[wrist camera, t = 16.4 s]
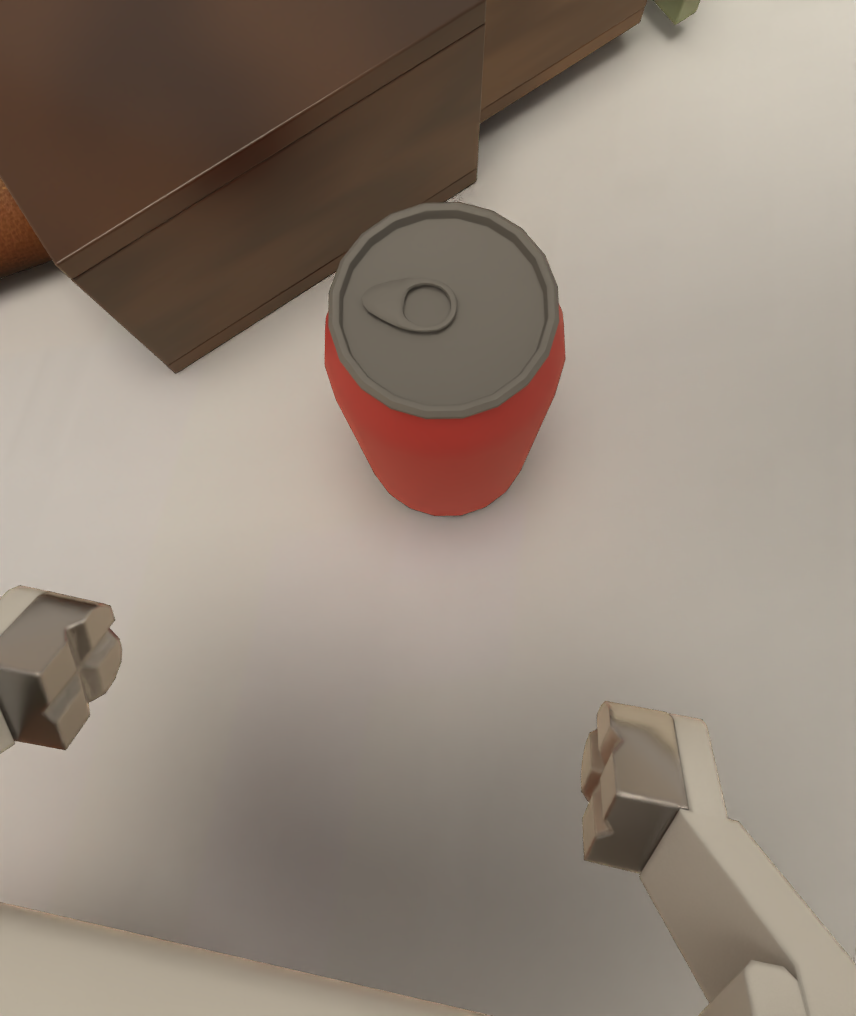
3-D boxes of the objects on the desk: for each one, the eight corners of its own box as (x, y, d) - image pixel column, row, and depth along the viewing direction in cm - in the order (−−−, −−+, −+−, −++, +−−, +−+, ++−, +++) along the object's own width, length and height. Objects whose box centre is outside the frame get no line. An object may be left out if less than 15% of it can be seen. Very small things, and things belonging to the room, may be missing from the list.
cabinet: (312, -30, 32) (259, -275, 23) (477, 181, 30) (487, -3, 21) (26, 142, 31) (-141, -47, 22) (175, 374, 28) (55, 265, 20)
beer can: (381, 356, 28) (330, 166, 16) (535, 376, 28) (596, 195, 16) (356, 507, 27) (282, 418, 15) (515, 529, 27) (566, 456, 15)
